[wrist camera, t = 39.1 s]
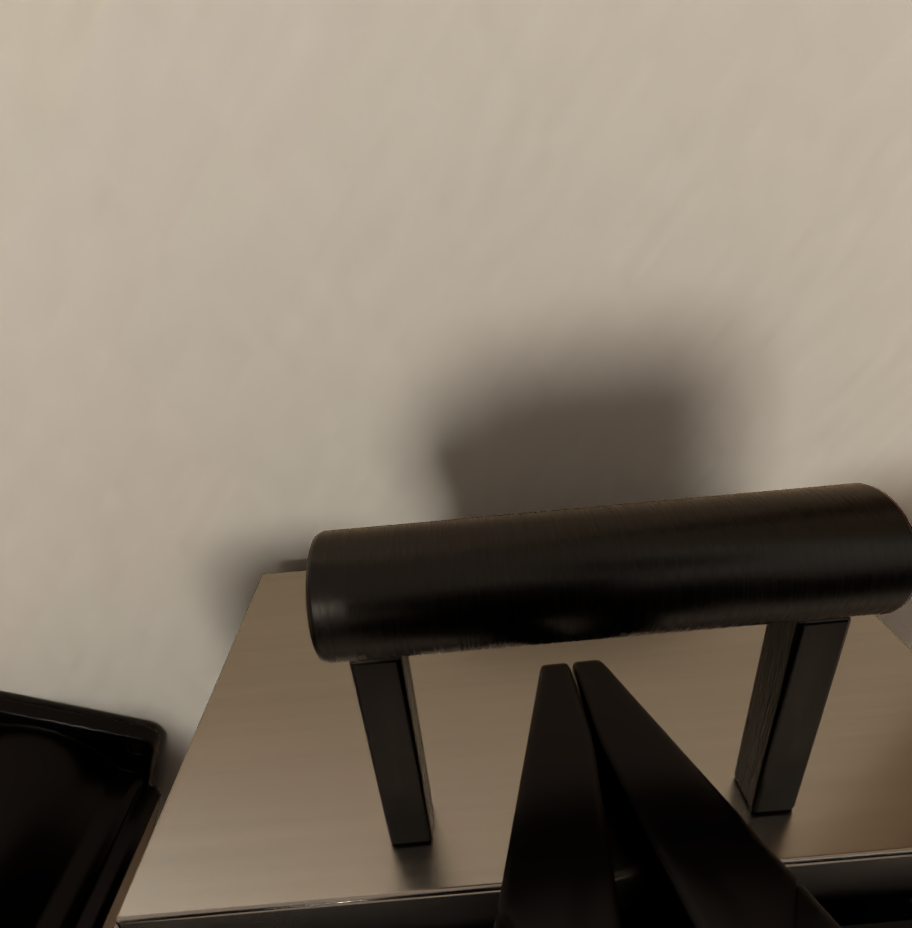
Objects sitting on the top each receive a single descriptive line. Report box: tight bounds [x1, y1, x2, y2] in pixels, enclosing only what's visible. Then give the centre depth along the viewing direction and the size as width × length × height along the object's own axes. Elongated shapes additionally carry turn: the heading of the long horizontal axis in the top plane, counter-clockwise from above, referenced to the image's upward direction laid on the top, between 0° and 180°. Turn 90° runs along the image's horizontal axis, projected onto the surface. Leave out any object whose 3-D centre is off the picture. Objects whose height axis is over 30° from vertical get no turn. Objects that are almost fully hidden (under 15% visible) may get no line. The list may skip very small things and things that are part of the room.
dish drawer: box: [116, 483, 912, 928], centre depth 12 cm, size 17×13×7 cm
